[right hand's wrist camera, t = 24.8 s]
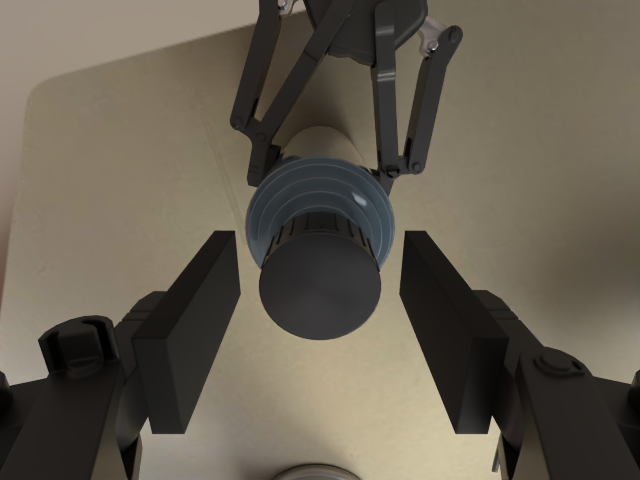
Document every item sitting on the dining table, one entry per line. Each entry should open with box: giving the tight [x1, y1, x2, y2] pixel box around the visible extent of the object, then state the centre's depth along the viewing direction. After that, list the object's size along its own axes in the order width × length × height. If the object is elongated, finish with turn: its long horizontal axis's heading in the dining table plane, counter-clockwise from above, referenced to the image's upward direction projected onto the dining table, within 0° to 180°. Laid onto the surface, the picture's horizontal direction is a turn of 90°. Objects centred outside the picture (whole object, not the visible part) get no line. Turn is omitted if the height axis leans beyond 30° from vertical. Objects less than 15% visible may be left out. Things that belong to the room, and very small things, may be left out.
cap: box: [259, 211, 381, 340], centre depth 13 cm, size 4×4×2 cm
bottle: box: [245, 126, 395, 271], centre depth 24 cm, size 7×7×23 cm
